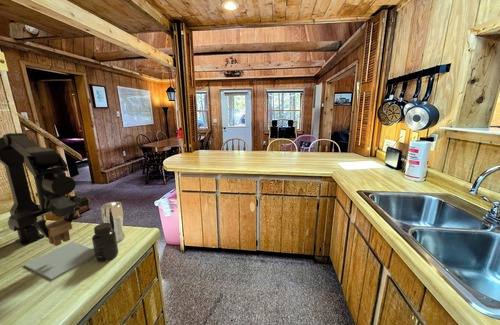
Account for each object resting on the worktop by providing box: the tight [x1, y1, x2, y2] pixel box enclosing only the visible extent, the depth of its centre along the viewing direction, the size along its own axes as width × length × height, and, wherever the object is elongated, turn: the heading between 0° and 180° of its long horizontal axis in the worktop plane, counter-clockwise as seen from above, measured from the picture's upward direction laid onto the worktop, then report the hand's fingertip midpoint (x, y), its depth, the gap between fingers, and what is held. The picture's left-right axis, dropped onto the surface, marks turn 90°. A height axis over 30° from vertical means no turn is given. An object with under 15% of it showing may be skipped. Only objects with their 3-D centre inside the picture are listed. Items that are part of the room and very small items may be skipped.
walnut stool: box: [46, 218, 73, 247], centre depth 70 cm, size 6×6×6 cm
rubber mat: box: [23, 241, 95, 281], centre depth 72 cm, size 16×14×1 cm
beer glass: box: [101, 201, 125, 243], centre depth 83 cm, size 7×7×15 cm
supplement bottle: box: [91, 222, 119, 263], centre depth 73 cm, size 7×7×12 cm
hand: (58, 232), depth 70 cm, fingers closed on walnut stool, 5 cm apart
